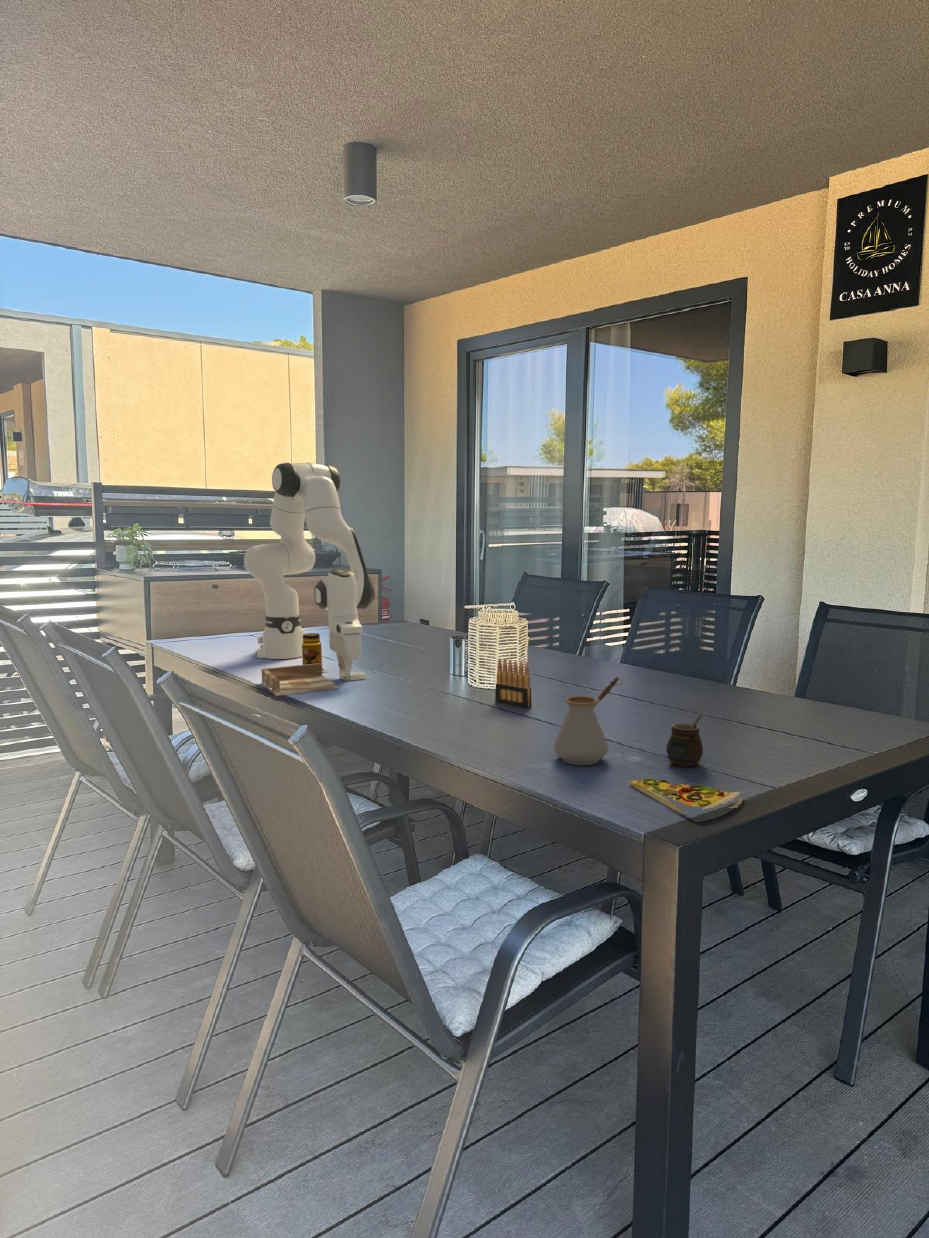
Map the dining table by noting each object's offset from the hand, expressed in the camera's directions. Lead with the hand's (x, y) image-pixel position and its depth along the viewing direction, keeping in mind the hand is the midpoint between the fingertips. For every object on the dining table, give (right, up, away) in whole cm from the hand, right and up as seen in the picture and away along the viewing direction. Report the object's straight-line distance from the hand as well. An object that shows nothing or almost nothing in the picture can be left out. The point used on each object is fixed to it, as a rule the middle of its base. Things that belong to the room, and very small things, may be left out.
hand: (344, 669), depth 254 cm
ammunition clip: (+49, -8, -31) cm, 59 cm away
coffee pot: (+64, -14, -74) cm, 98 cm away
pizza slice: (+75, -18, -100) cm, 127 cm away
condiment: (-12, -2, +13) cm, 18 cm away
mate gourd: (+81, -15, -81) cm, 116 cm away
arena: (-12, -4, -7) cm, 15 cm away
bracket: (+2, -3, +2) cm, 4 cm away
